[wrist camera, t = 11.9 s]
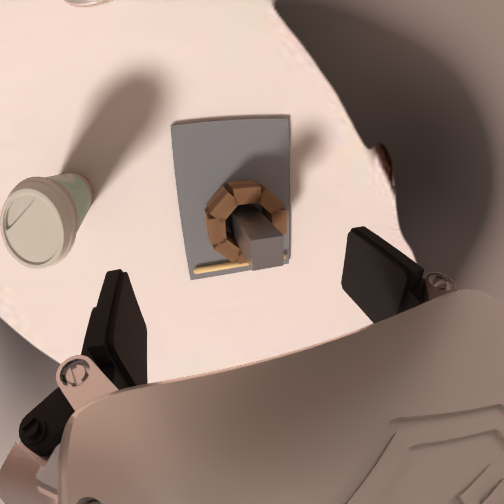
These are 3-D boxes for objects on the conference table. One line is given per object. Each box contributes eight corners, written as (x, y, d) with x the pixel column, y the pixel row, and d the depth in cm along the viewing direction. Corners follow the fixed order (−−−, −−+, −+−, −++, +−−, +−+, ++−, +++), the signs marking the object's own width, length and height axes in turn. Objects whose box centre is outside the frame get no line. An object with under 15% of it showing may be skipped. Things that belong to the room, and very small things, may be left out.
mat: (170, 125, 28) (170, 125, 26) (286, 118, 31) (291, 118, 29) (190, 277, 37) (191, 283, 35) (287, 261, 40) (290, 265, 38)
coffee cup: (101, 158, 27) (63, 175, 16) (105, 226, 30) (77, 273, 20) (42, 165, 25) (-11, 188, 14) (49, 230, 28) (8, 275, 18)
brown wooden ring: (202, 185, 31) (205, 192, 28) (274, 177, 33) (286, 184, 30) (209, 253, 35) (213, 268, 32) (275, 243, 37) (286, 256, 34)
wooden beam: (227, 205, 33) (251, 240, 24) (251, 202, 34) (283, 235, 24) (229, 228, 34) (252, 270, 25) (252, 225, 35) (283, 265, 26)
